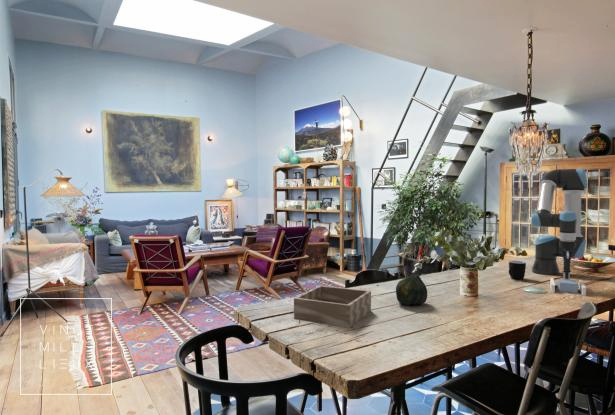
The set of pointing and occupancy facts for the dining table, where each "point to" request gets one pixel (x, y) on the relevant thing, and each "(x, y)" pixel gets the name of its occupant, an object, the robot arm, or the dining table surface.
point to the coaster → (534, 290)
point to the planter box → (332, 306)
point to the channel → (581, 287)
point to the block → (567, 286)
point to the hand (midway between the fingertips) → (566, 284)
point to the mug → (517, 269)
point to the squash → (411, 290)
